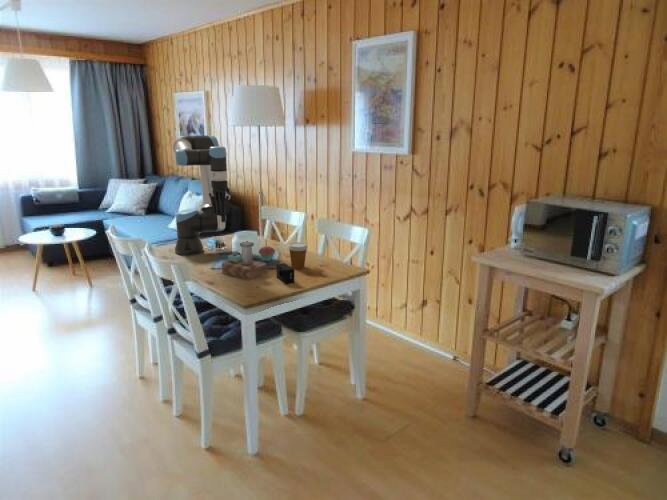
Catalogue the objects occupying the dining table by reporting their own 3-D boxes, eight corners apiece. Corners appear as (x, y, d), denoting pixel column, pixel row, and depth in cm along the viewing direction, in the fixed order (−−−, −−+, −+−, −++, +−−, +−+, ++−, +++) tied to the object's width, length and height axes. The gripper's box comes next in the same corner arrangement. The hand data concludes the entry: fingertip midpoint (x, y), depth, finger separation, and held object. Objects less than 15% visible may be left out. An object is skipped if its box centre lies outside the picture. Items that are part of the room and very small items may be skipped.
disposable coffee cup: (304, 271, 227) (304, 247, 224) (286, 269, 229) (285, 246, 226) (309, 265, 236) (309, 242, 233) (291, 263, 238) (291, 241, 235)
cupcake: (273, 262, 240) (273, 240, 236) (257, 262, 240) (257, 239, 237) (276, 257, 248) (275, 236, 245) (260, 257, 248) (259, 235, 245)
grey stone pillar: (240, 274, 221) (239, 243, 216) (247, 271, 225) (246, 241, 220) (248, 276, 219) (247, 244, 214) (254, 273, 222) (253, 242, 218)
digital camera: (274, 278, 217) (273, 264, 215) (284, 276, 219) (284, 262, 217) (283, 285, 208) (283, 270, 206) (294, 283, 211) (294, 268, 209)
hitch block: (222, 272, 222) (221, 261, 221) (239, 266, 232) (238, 255, 230) (250, 280, 213) (250, 268, 212) (266, 273, 223) (266, 262, 221)
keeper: (228, 260, 224) (228, 254, 223) (234, 258, 227) (233, 252, 226) (235, 262, 221) (235, 255, 220) (241, 260, 224) (241, 253, 224)
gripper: (203, 179, 218) (205, 227, 224) (224, 182, 211) (226, 231, 217) (214, 177, 224) (217, 224, 230) (235, 180, 217) (237, 228, 224)
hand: (221, 228), depth 224 cm, fingers closed
